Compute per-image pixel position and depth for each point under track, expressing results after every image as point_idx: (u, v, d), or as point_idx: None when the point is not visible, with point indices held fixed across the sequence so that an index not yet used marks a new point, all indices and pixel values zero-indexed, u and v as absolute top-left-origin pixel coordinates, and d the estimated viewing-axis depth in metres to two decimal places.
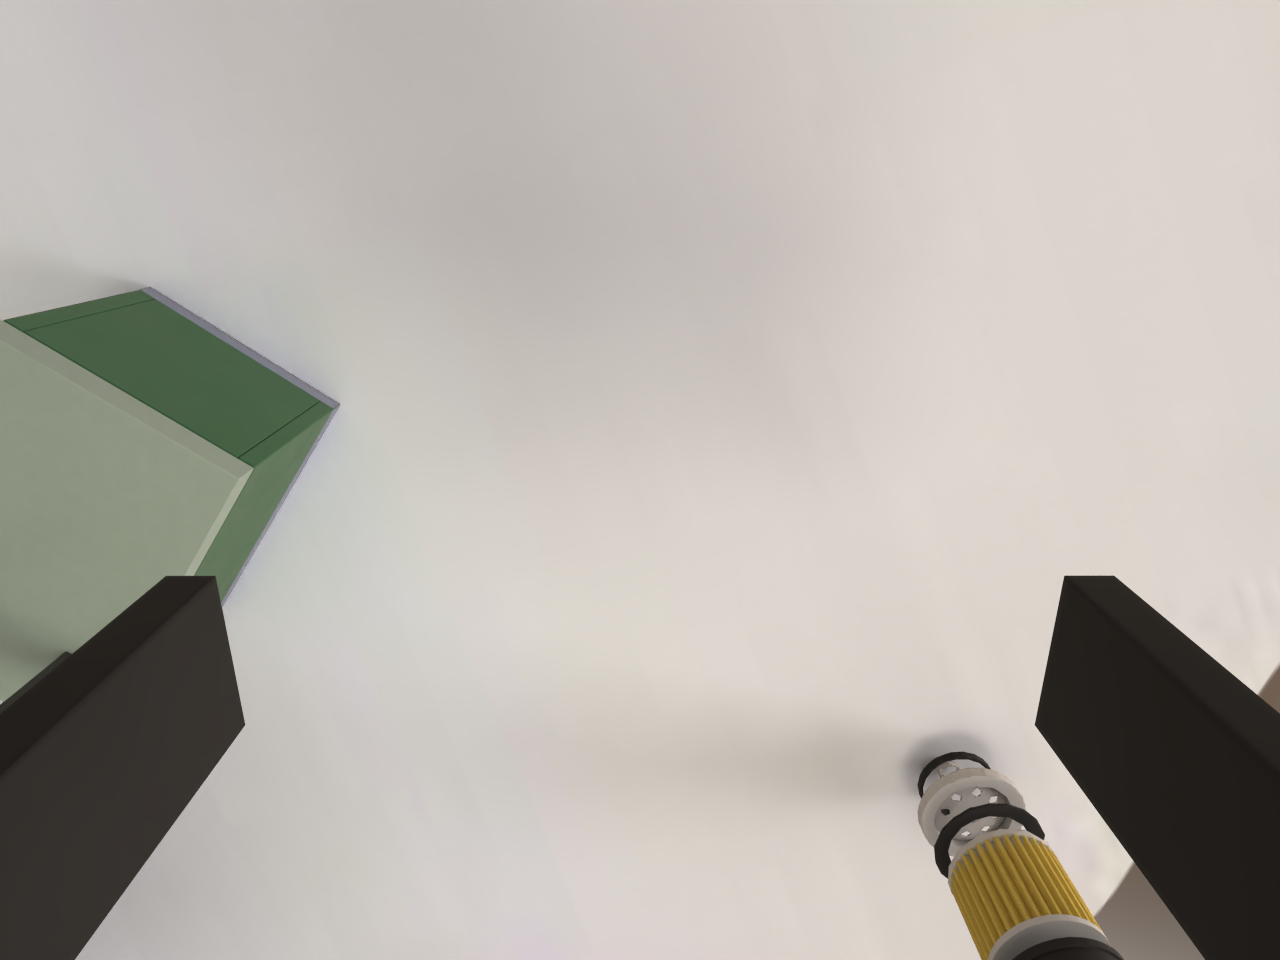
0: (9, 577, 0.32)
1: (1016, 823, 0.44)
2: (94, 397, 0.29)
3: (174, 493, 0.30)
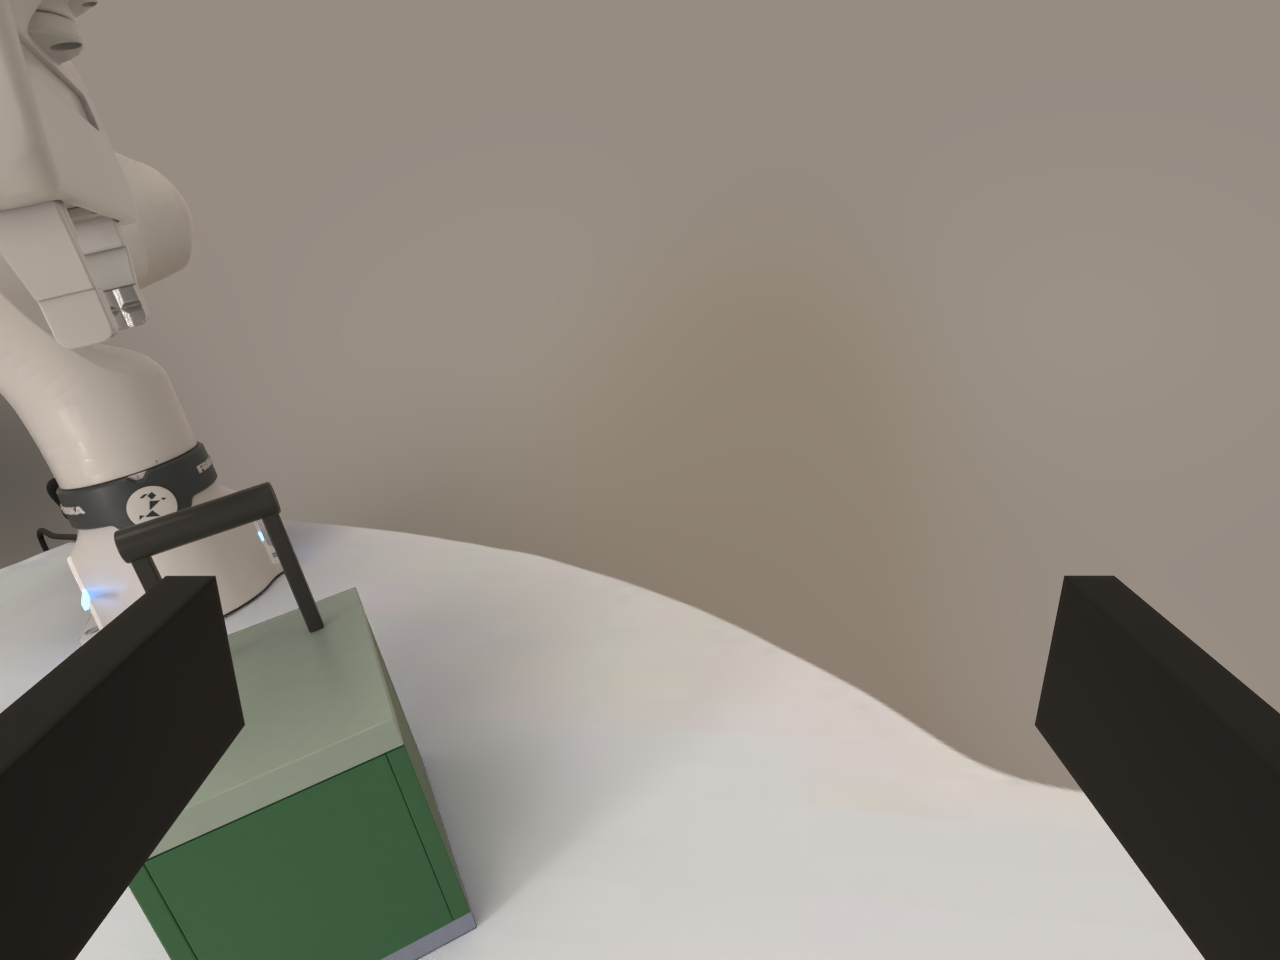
0: (271, 665, 0.37)
1: None
2: (274, 768, 0.29)
3: None
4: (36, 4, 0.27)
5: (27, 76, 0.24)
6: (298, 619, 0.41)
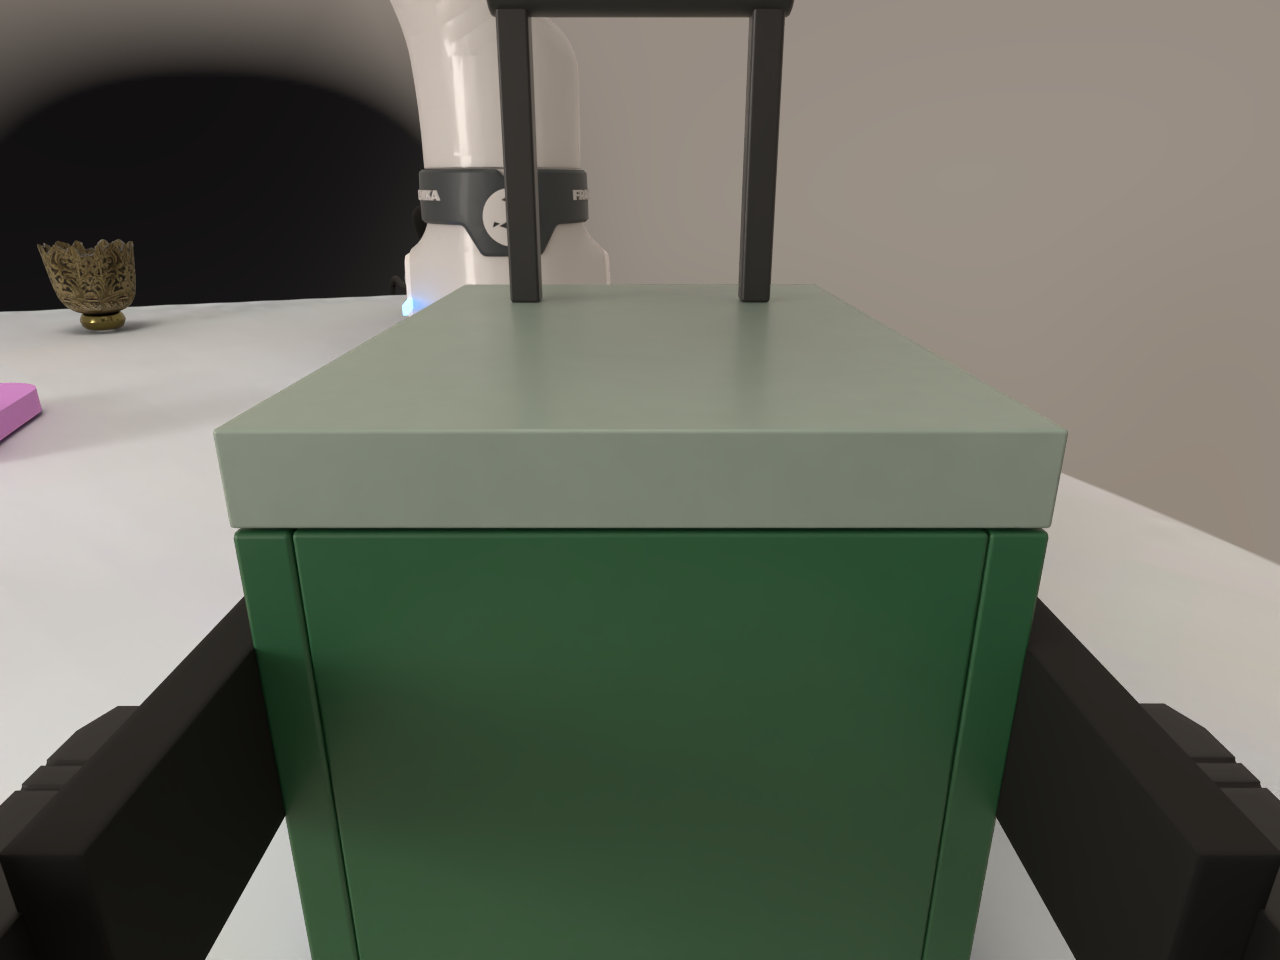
0: (668, 314, 0.18)
1: None
2: (693, 426, 0.10)
3: (405, 390, 0.11)
4: None
5: None
6: (713, 290, 0.22)
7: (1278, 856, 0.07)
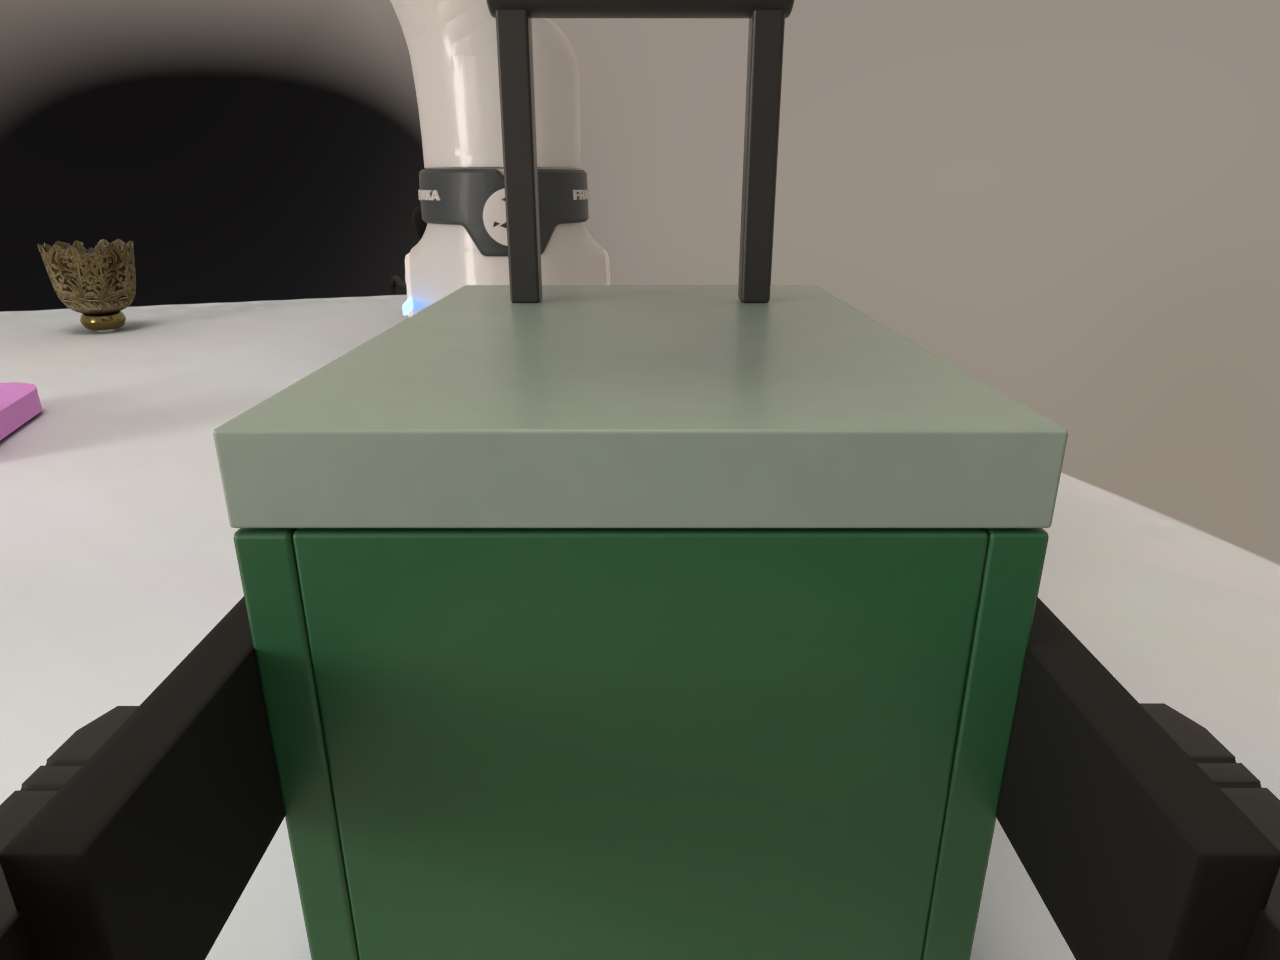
0: (668, 315, 0.18)
1: None
2: (693, 426, 0.10)
3: (406, 389, 0.11)
4: None
5: None
6: (713, 291, 0.22)
7: (1278, 856, 0.07)
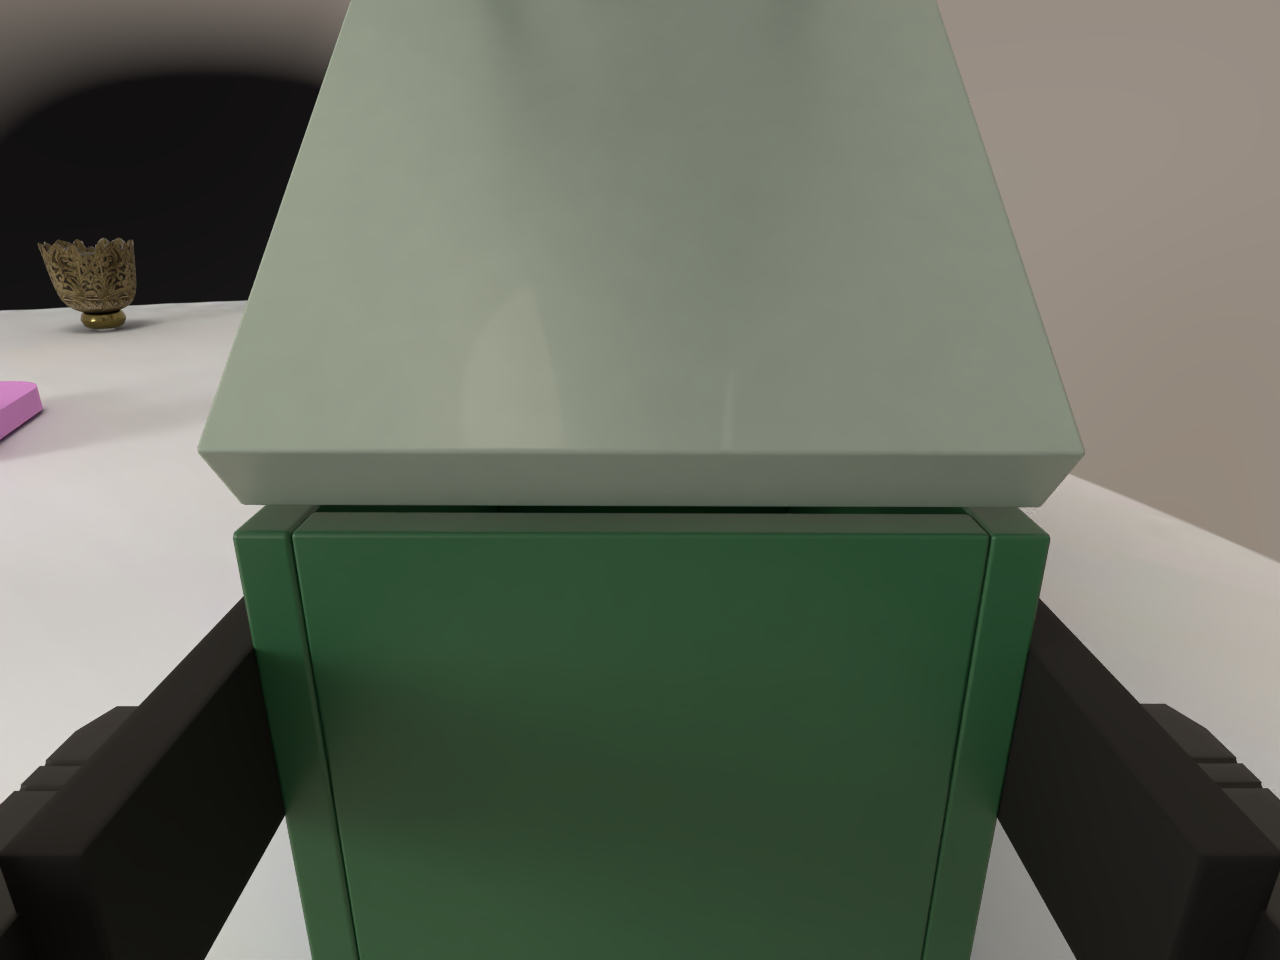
0: (678, 11, 0.14)
1: None
2: (695, 446, 0.09)
3: (378, 322, 0.10)
4: None
5: None
6: None
7: (1279, 856, 0.07)
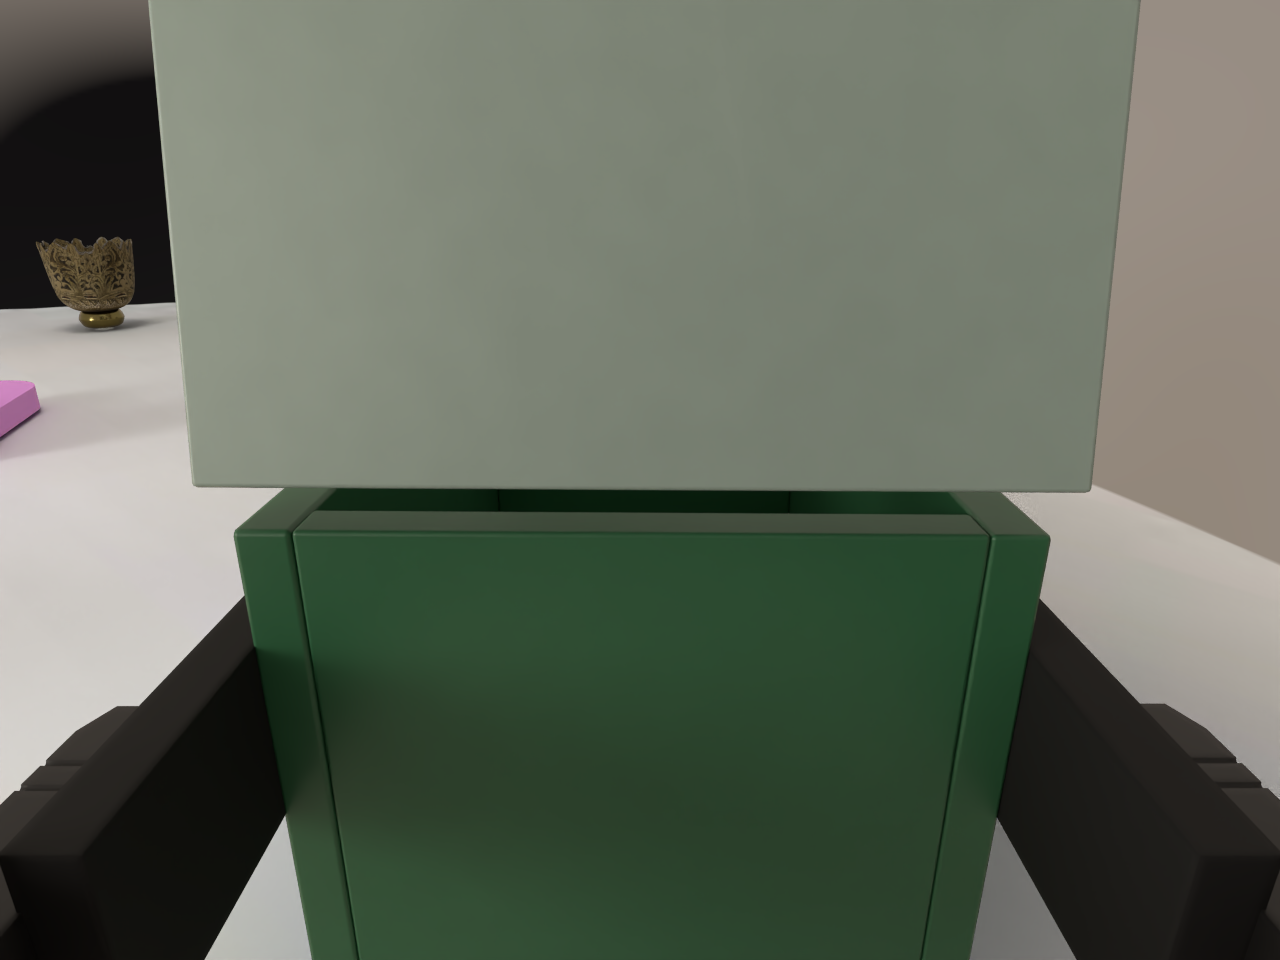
0: None
1: None
2: (695, 482, 0.09)
3: (336, 313, 0.09)
4: None
5: None
6: None
7: (1279, 856, 0.07)
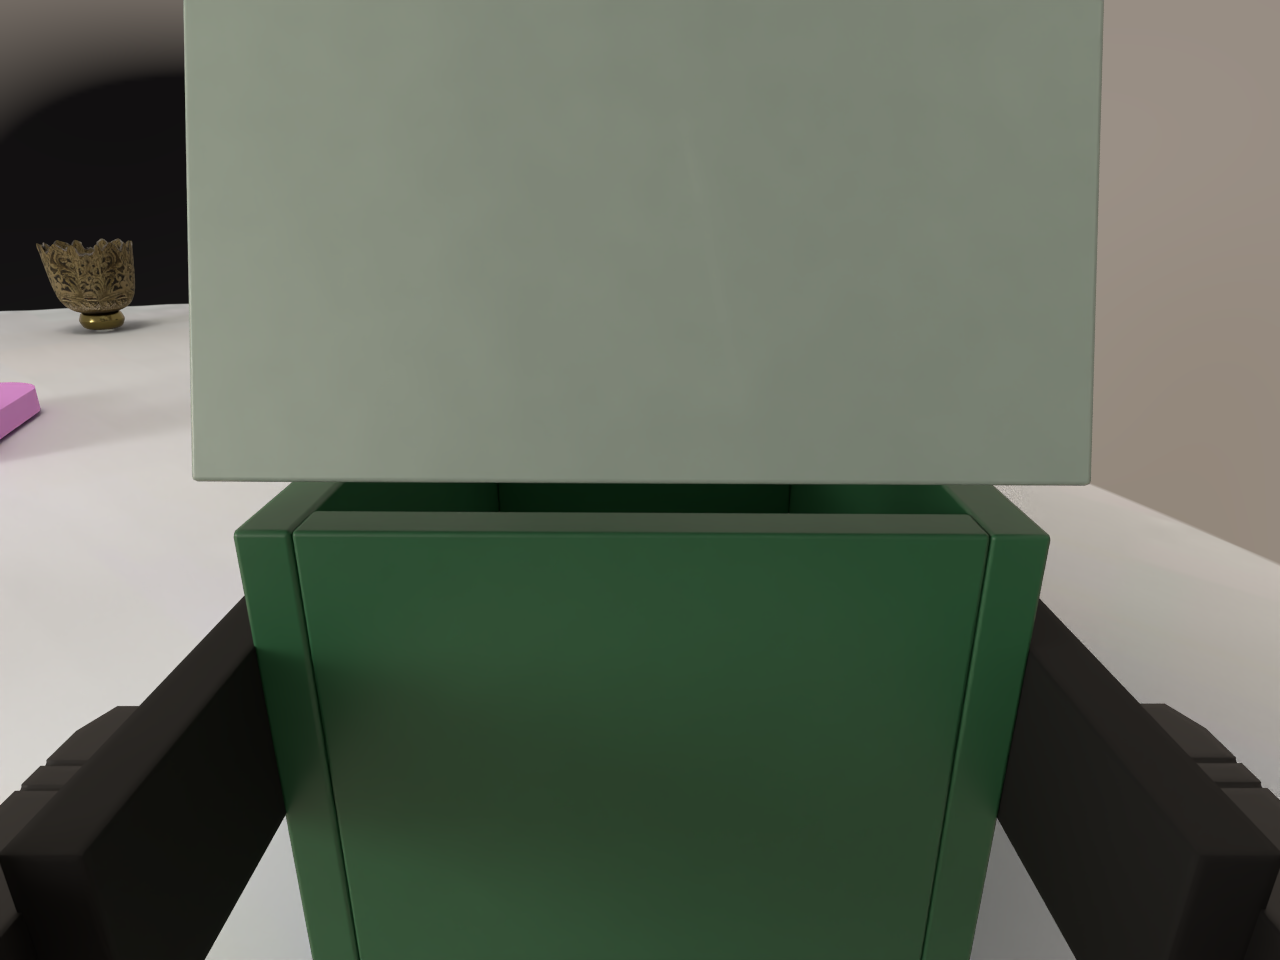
0: None
1: None
2: (694, 475, 0.09)
3: (344, 308, 0.09)
4: None
5: None
6: None
7: (1278, 856, 0.07)
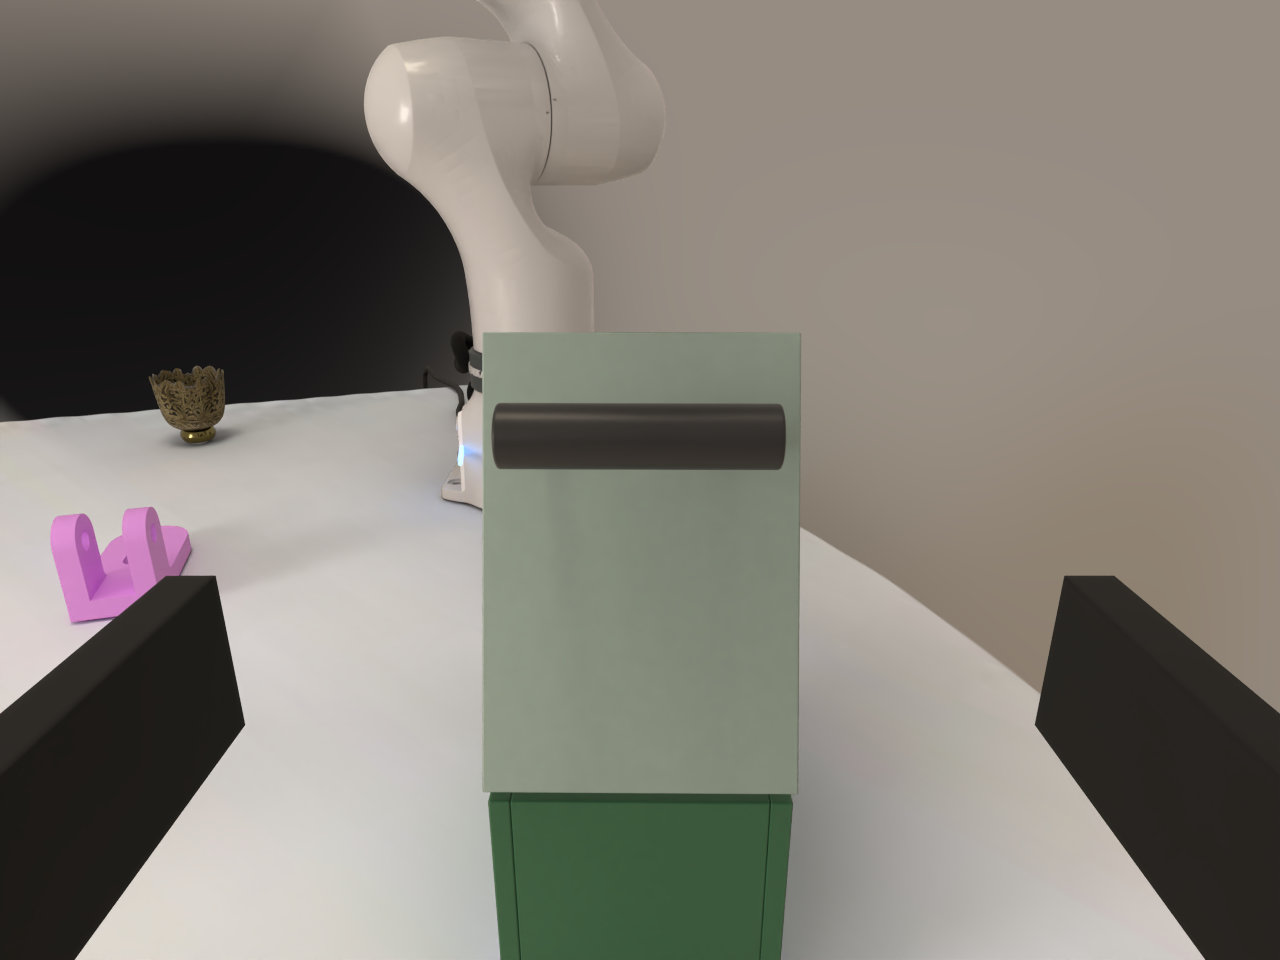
0: (660, 514, 0.26)
1: None
2: (659, 791, 0.26)
3: (537, 733, 0.26)
4: None
5: None
6: (703, 381, 0.25)
7: None
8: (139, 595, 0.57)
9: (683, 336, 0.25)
